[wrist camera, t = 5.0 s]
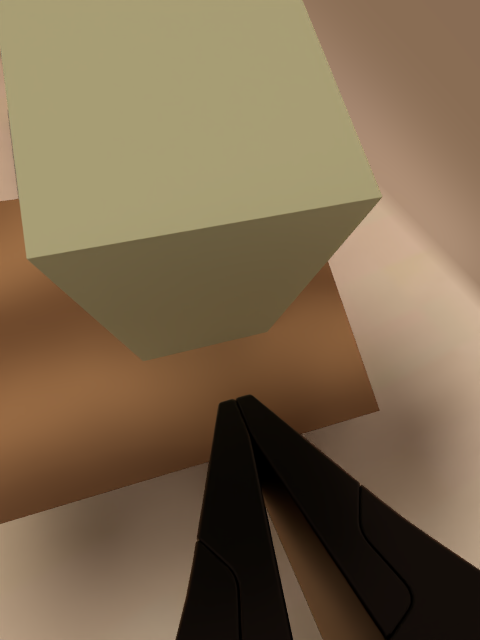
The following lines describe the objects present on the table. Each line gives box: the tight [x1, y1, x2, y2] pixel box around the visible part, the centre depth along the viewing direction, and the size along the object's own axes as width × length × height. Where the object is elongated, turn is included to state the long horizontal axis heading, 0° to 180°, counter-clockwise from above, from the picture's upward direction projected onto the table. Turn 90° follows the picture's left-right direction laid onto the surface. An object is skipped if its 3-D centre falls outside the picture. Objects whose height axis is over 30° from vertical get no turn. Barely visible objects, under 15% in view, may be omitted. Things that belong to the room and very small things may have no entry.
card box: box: [0, 0, 382, 361], centre depth 10 cm, size 7×5×9 cm
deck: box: [0, 199, 379, 524], centre depth 15 cm, size 12×14×2 cm
